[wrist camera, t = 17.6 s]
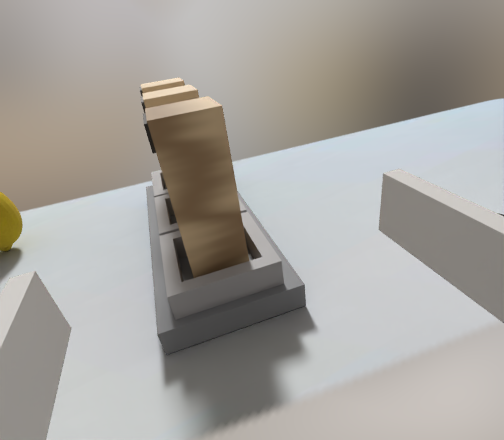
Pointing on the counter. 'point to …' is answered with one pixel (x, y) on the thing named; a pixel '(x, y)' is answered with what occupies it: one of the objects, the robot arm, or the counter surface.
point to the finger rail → (216, 283)
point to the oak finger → (199, 181)
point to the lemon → (9, 223)
